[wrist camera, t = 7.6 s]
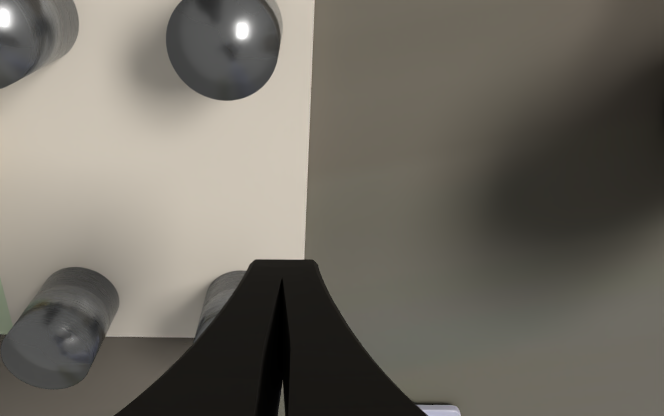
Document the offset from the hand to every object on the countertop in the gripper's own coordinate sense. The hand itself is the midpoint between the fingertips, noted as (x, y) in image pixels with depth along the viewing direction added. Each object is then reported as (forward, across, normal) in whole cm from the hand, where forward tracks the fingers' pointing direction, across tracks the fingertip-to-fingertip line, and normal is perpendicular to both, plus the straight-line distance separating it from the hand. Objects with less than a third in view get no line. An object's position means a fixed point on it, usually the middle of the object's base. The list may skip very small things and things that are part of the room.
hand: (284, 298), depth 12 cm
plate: (+10, +7, +1) cm, 12 cm away
